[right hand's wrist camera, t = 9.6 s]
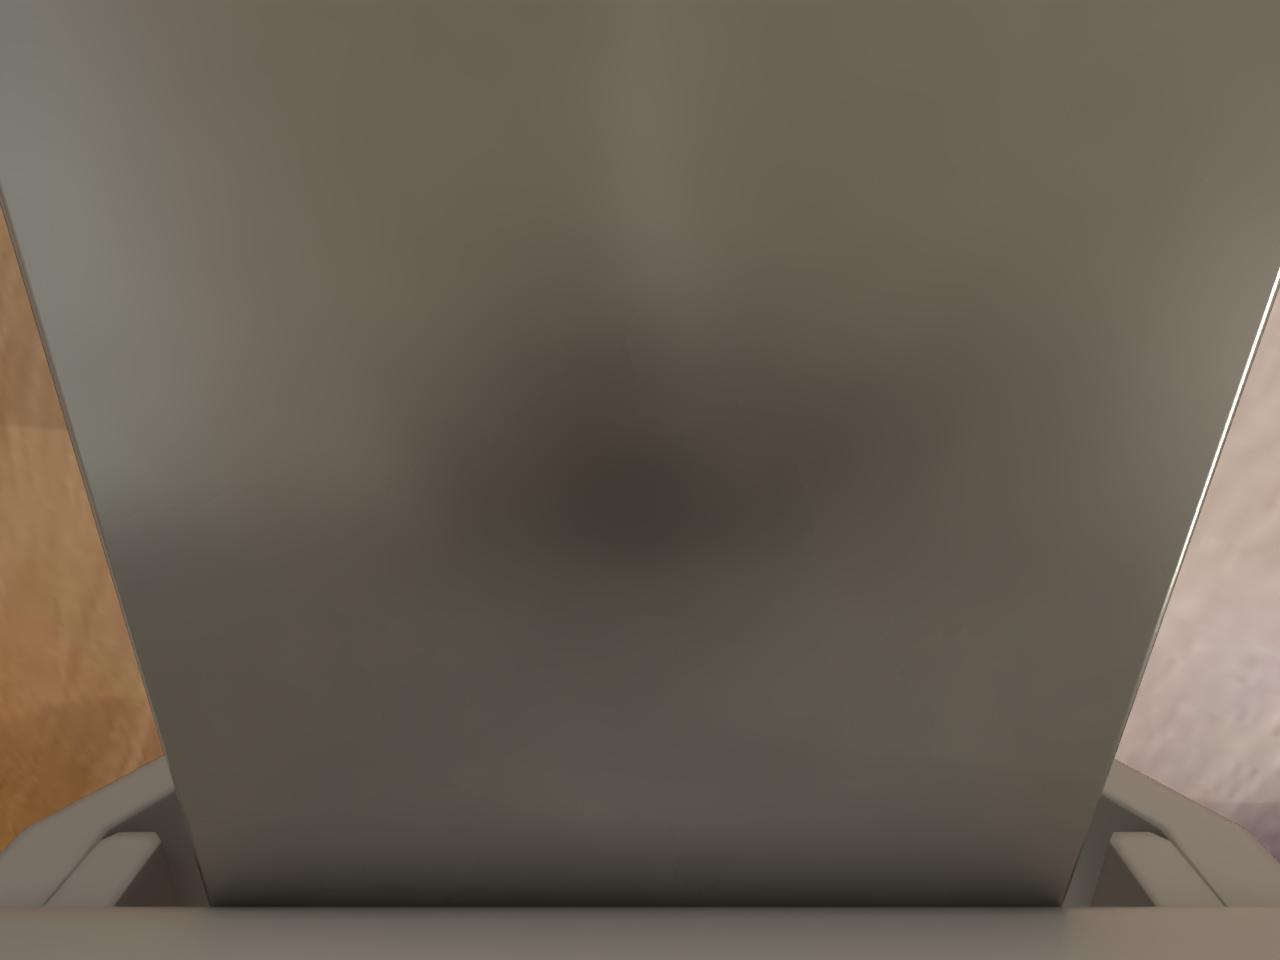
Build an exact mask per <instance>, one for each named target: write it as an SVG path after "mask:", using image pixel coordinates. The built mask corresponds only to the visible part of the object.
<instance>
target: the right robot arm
mask: <svg viewBox="0 0 1280 960" xmlns="http://www.w3.org/2000/svg"><path fill="white" fill-rule="evenodd" d="M0 960H1280V863H1279V862H1278V861H1277V860H1276V859H1275V858H1274V857H1273V856H1272V855H1271V854H1270V853H1269V852H1268V851H1267V850H1266V849H1265V848H1264V847H1263V846H1262V845H1261V844H1260V843H1259V842H1258V840H1257V839H1256V838H1255V837H1254V836H1253V835H1252V834H1251V833H1250V832H1249V831H1248V830H1247V829H1245V828H1243V827H1241V826H1239V825H1237V824H1235V823H1233V822H1232V821H1230V820H1228V819H1226V818H1224V817H1222V816H1220V815H1219V814H1217V813H1215V812H1213V811H1211V810H1209V809H1207V808H1205V807H1204V806H1202V805H1200V804H1198V803H1196V802H1194V801H1192V800H1191V799H1189V798H1187V797H1185V796H1183V795H1181V794H1179V793H1177V792H1176V791H1174V790H1172V789H1170V788H1168V787H1166V786H1164V785H1162V784H1161V783H1159V782H1157V781H1155V780H1153V779H1151V778H1149V777H1148V776H1146V775H1144V774H1142V773H1140V772H1138V771H1136V770H1134V769H1133V768H1131V767H1129V766H1127V765H1125V764H1123V763H1121V762H1119V761H1118V760H1116V759H1114V760H1113V763H1112V766H1111V769H1110V771H1109V774H1108V777H1107V780H1106V783H1105V786H1104V789H1103V791H1102V794H1101V797H1100V800H1099V803H1098V806H1097V809H1096V811H1095V814H1094V817H1093V820H1092V823H1091V826H1090V828H1089V831H1088V834H1087V837H1086V840H1085V843H1084V846H1083V848H1082V851H1081V854H1080V857H1079V860H1078V863H1077V866H1076V868H1075V871H1074V874H1073V877H1072V880H1071V883H1070V885H1069V888H1068V891H1067V894H1066V897H1065V900H1064V903H1063V905H1062V907H210V905H209V902H208V899H207V895H206V892H205V889H204V885H203V882H202V879H201V875H200V872H199V868H198V865H197V862H196V858H195V855H194V852H193V848H192V845H191V842H190V838H189V835H188V832H187V828H186V825H185V822H184V818H183V815H182V811H181V808H180V805H179V801H178V798H177V795H176V791H175V788H174V785H173V781H172V778H171V775H170V771H169V768H168V765H167V761H166V758H165V755H163V756H161V757H159V758H157V759H155V760H154V761H152V762H150V763H148V764H146V765H144V766H142V767H140V768H138V769H136V770H135V771H133V772H131V773H129V774H127V775H125V776H123V777H121V778H119V779H118V780H116V781H114V782H112V783H110V784H108V785H106V786H104V787H102V788H101V789H99V790H97V791H95V792H93V793H91V794H89V795H87V796H85V797H84V798H82V799H80V800H78V801H76V802H74V803H72V804H70V805H68V806H66V807H65V808H63V809H61V810H59V811H57V812H55V813H53V814H51V815H49V816H48V817H46V818H44V819H42V820H40V821H38V822H36V823H34V824H32V825H31V826H29V827H27V828H25V829H24V830H23V831H22V832H21V833H20V834H19V835H18V836H17V837H16V838H15V839H14V840H13V841H12V842H11V843H10V844H9V845H8V846H7V847H6V848H5V849H4V850H3V851H2V852H1V853H0Z"/></svg>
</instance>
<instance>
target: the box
mask: <svg viewBox="0 0 1280 960" xmlns="http://www.w3.org/2000/svg"><path fill="white" fill-rule="evenodd" d="M0 204H1V208H2V211H3V215H4V218H5V221H6V225H7V228H8V231H9V235H10V238H11V241H12V245H13V248H14V251H15V255H16V258H17V261H18V265H19V268H20V272H21V275H22V278H23V282H24V285H25V288H26V292H27V295H28V298H29V302H30V305H31V308H32V312H33V315H34V318H35V322H36V325H37V329H38V332H39V335H40V339H41V342H42V345H43V349H44V352H45V355H46V359H47V362H48V365H49V369H50V372H51V375H52V379H53V382H54V386H55V389H56V392H57V396H58V399H59V402H60V406H61V409H62V412H63V416H64V419H65V422H66V426H67V429H68V432H69V436H70V439H71V443H72V446H73V449H74V453H75V456H76V459H77V463H78V466H79V469H80V473H81V476H82V479H83V483H84V486H85V490H86V493H87V496H88V500H89V503H90V506H91V510H92V513H93V516H94V520H95V523H96V526H97V530H98V533H99V536H100V540H101V543H102V547H103V550H104V553H105V557H106V560H107V563H108V567H109V570H110V573H111V577H112V580H113V583H114V587H115V590H116V593H117V597H118V600H119V604H120V607H121V610H122V614H123V617H124V620H125V624H126V627H127V630H128V634H129V637H130V640H131V644H132V647H133V650H134V654H135V657H136V661H137V664H138V667H139V671H140V674H141V677H142V681H143V684H144V687H145V691H146V694H147V697H148V701H149V704H150V708H151V711H152V714H153V718H154V721H155V724H156V728H157V731H158V734H159V738H160V741H161V744H162V748H163V751H164V754H165V758H166V761H167V765H168V768H169V771H170V775H171V778H172V781H173V785H174V788H175V791H176V795H177V798H178V801H179V805H180V808H181V811H182V815H183V818H184V822H185V825H186V828H187V832H188V835H189V838H190V842H191V845H192V848H193V852H194V855H195V858H196V862H197V865H198V868H199V872H200V875H201V879H202V882H203V885H204V889H205V892H206V895H207V899H208V902H209V905H210V907H1062V905H1063V903H1064V900H1065V897H1066V894H1067V891H1068V888H1069V885H1070V883H1071V880H1072V877H1073V874H1074V871H1075V868H1076V866H1077V863H1078V860H1079V857H1080V854H1081V851H1082V848H1083V846H1084V843H1085V840H1086V837H1087V834H1088V831H1089V828H1090V826H1091V823H1092V820H1093V817H1094V814H1095V811H1096V809H1097V806H1098V803H1099V800H1100V797H1101V794H1102V791H1103V789H1104V786H1105V783H1106V780H1107V777H1108V774H1109V771H1110V769H1111V766H1112V763H1113V760H1114V757H1115V754H1116V752H1117V749H1118V746H1119V743H1120V740H1121V737H1122V734H1123V732H1124V729H1125V726H1126V723H1127V720H1128V717H1129V714H1130V712H1131V709H1132V706H1133V703H1134V700H1135V697H1136V695H1137V692H1138V689H1139V686H1140V683H1141V680H1142V677H1143V675H1144V672H1145V669H1146V666H1147V663H1148V660H1149V657H1150V655H1151V652H1152V649H1153V646H1154V643H1155V640H1156V638H1157V635H1158V632H1159V629H1160V626H1161V623H1162V620H1163V618H1164V615H1165V612H1166V609H1167V606H1168V603H1169V600H1170V598H1171V595H1172V592H1173V589H1174V586H1175V583H1176V581H1177V578H1178V575H1179V572H1180V569H1181V566H1182V563H1183V561H1184V558H1185V555H1186V552H1187V549H1188V546H1189V543H1190V541H1191V538H1192V535H1193V532H1194V529H1195V526H1196V524H1197V521H1198V518H1199V515H1200V512H1201V509H1202V506H1203V504H1204V501H1205V498H1206V495H1207V492H1208V489H1209V487H1210V484H1211V481H1212V478H1213V475H1214V472H1215V469H1216V467H1217V464H1218V461H1219V458H1220V455H1221V452H1222V449H1223V447H1224V444H1225V441H1226V438H1227V435H1228V432H1229V429H1230V427H1231V424H1232V421H1233V418H1234V415H1235V412H1236V410H1237V407H1238V404H1239V401H1240V398H1241V395H1242V392H1243V390H1244V387H1245V384H1246V381H1247V378H1248V375H1249V373H1250V370H1251V367H1252V364H1253V361H1254V358H1255V355H1256V353H1257V350H1258V347H1259V344H1260V341H1261V338H1262V335H1263V333H1264V330H1265V327H1266V324H1267V321H1268V318H1269V316H1270V313H1271V310H1272V307H1273V304H1274V301H1275V298H1276V296H1277V293H1278V290H1279V287H1280V0H0Z"/></svg>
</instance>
